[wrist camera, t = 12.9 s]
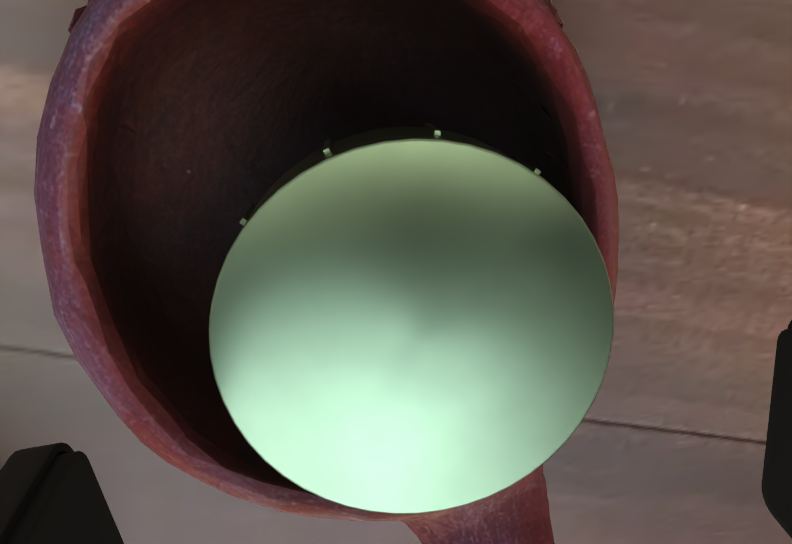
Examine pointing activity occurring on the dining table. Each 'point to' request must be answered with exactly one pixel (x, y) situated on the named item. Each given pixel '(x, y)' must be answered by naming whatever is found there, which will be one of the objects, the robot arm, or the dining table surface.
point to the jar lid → (410, 321)
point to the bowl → (258, 170)
